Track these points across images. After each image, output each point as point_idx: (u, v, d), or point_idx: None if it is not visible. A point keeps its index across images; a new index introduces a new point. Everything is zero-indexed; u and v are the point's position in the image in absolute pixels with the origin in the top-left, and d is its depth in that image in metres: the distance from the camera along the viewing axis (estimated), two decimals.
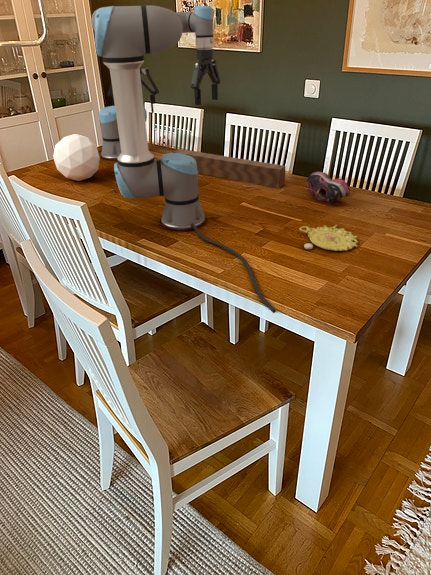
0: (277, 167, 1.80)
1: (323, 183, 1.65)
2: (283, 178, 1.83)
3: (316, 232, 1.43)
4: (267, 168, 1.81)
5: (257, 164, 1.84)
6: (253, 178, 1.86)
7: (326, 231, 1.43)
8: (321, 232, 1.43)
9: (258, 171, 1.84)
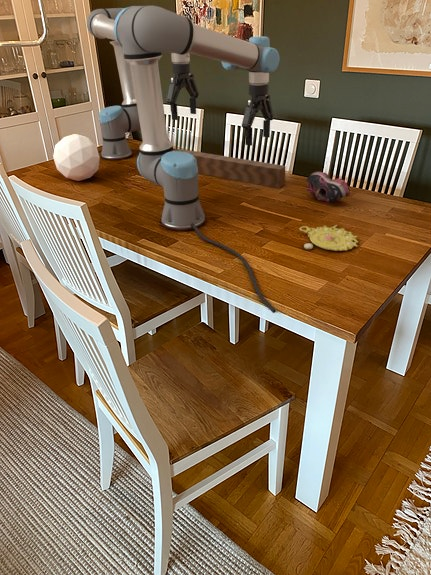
0: (277, 167, 1.80)
1: (323, 183, 1.65)
2: (283, 178, 1.83)
3: (316, 232, 1.43)
4: (267, 168, 1.81)
5: (257, 164, 1.84)
6: (253, 178, 1.86)
7: (326, 231, 1.43)
8: (321, 232, 1.43)
9: (258, 171, 1.84)
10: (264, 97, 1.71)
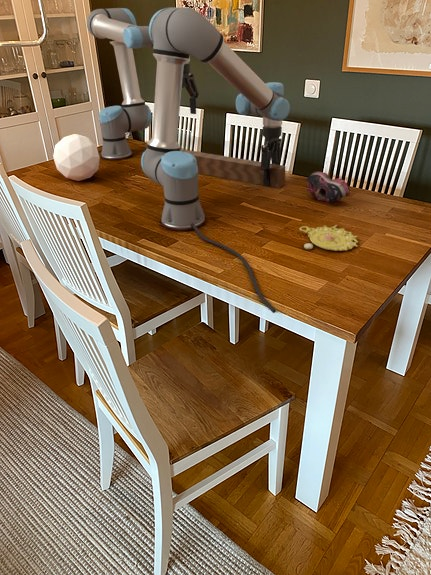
0: (277, 167, 1.80)
1: (323, 183, 1.65)
2: (283, 178, 1.83)
3: (316, 232, 1.43)
4: None
5: (257, 164, 1.84)
6: (253, 178, 1.86)
7: (326, 231, 1.43)
8: (321, 232, 1.43)
9: (258, 171, 1.83)
10: (277, 138, 1.78)
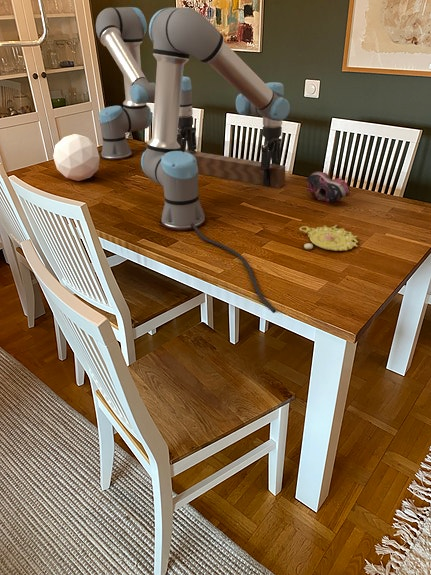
0: (277, 167, 1.80)
1: (323, 183, 1.65)
2: (283, 178, 1.83)
3: (316, 232, 1.43)
4: None
5: (257, 164, 1.84)
6: (253, 178, 1.86)
7: (326, 231, 1.43)
8: (321, 232, 1.43)
9: (258, 171, 1.83)
10: (277, 138, 1.78)
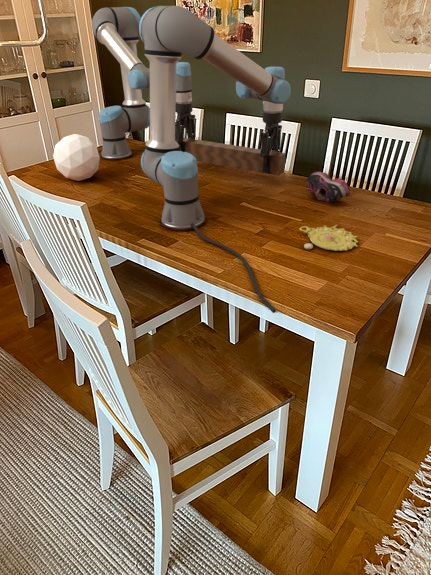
0: (276, 154, 1.77)
1: (323, 183, 1.65)
2: (283, 165, 1.80)
3: (316, 232, 1.43)
4: None
5: (257, 151, 1.81)
6: (253, 166, 1.83)
7: (326, 231, 1.43)
8: (321, 232, 1.43)
9: (258, 158, 1.81)
10: (277, 124, 1.75)
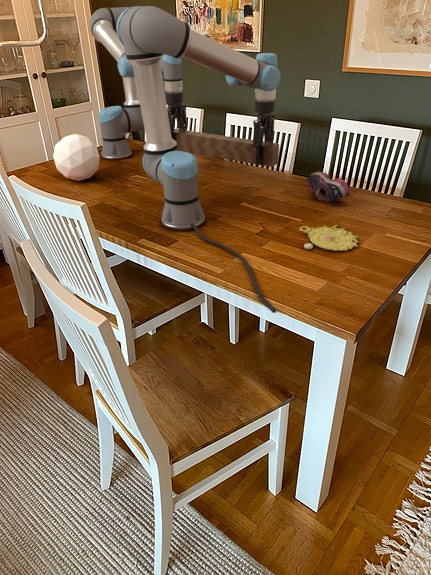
0: (270, 144, 1.71)
1: (323, 183, 1.65)
2: (277, 157, 1.74)
3: (316, 232, 1.43)
4: None
5: (249, 142, 1.75)
6: (245, 157, 1.77)
7: (326, 231, 1.43)
8: (321, 232, 1.43)
9: (250, 149, 1.74)
10: (270, 113, 1.69)
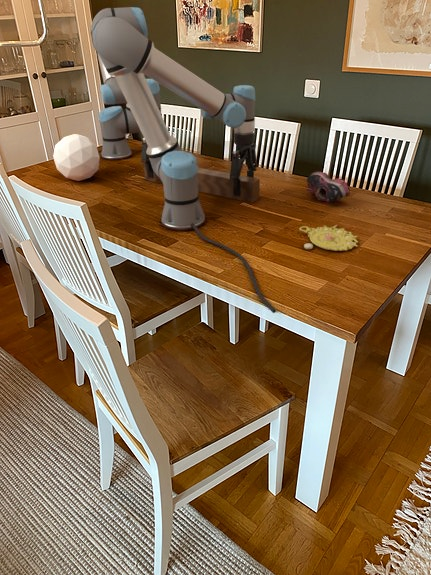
0: (250, 180, 1.68)
1: (323, 183, 1.65)
2: (258, 192, 1.71)
3: (316, 232, 1.43)
4: None
5: (229, 177, 1.72)
6: (226, 192, 1.74)
7: (326, 231, 1.43)
8: (321, 232, 1.43)
9: (231, 184, 1.71)
10: (250, 145, 1.65)
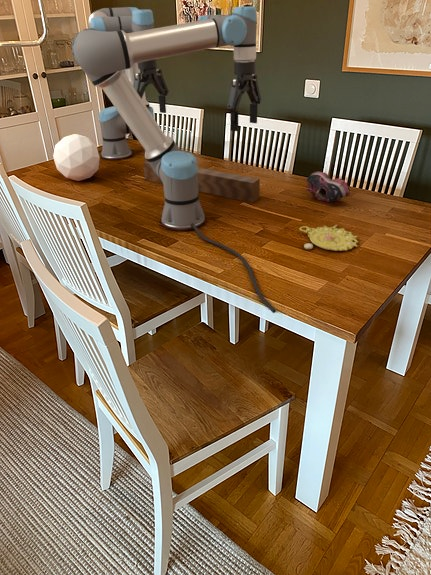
0: (250, 180, 1.68)
1: (323, 183, 1.65)
2: (258, 192, 1.71)
3: (316, 232, 1.43)
4: (240, 181, 1.68)
5: (229, 177, 1.72)
6: (226, 192, 1.74)
7: (326, 231, 1.43)
8: (321, 232, 1.43)
9: (231, 184, 1.71)
10: (251, 77, 1.52)
